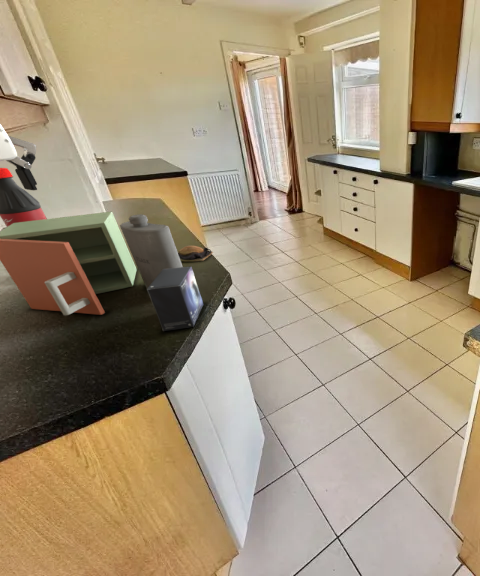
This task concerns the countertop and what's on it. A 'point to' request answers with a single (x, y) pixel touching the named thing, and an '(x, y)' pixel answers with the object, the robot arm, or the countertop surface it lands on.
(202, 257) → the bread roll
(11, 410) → the countertop surface
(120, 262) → the cupboard
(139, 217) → the flask
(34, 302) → the door
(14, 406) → the countertop surface
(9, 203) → the cola bottle
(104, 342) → the countertop surface
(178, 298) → the small box
